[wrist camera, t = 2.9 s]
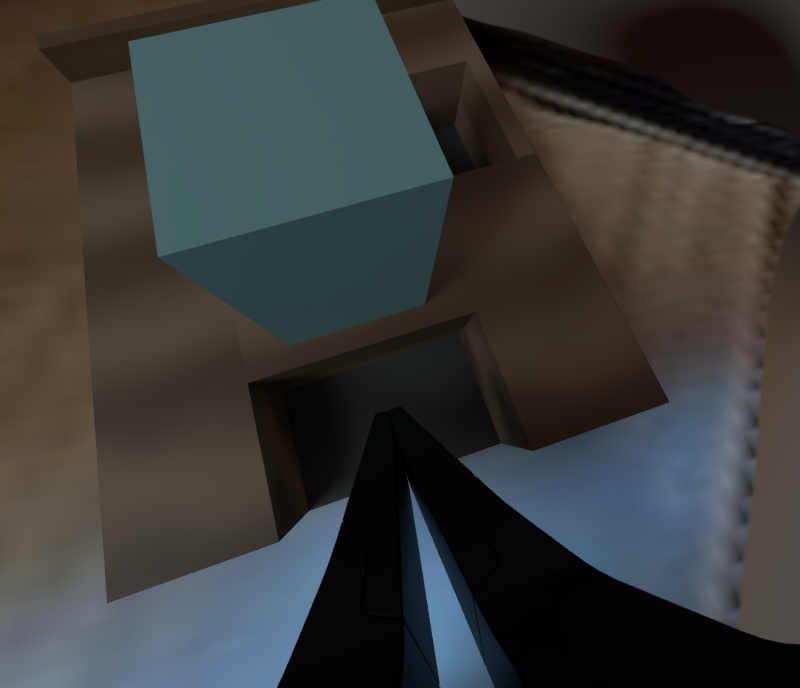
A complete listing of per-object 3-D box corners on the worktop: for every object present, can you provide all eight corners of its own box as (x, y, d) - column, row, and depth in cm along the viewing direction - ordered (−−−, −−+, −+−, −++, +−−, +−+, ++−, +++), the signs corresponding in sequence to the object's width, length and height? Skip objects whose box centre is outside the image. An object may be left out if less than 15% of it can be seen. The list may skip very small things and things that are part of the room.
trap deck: (602, 406, 16) (707, 399, 10) (188, 551, 14) (58, 634, 9) (437, 64, 22) (450, -50, 16) (134, 137, 20) (38, 35, 15)
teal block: (424, 304, 13) (453, 176, 6) (290, 345, 12) (157, 257, 6) (384, 194, 14) (370, -11, 7) (261, 227, 14) (128, 41, 7)
